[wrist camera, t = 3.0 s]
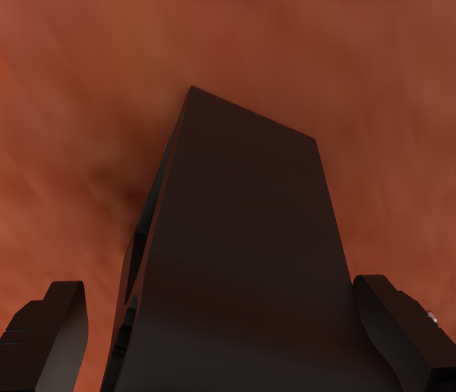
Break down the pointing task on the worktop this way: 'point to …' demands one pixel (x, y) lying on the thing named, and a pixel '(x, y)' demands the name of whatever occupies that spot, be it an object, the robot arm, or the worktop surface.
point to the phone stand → (239, 269)
